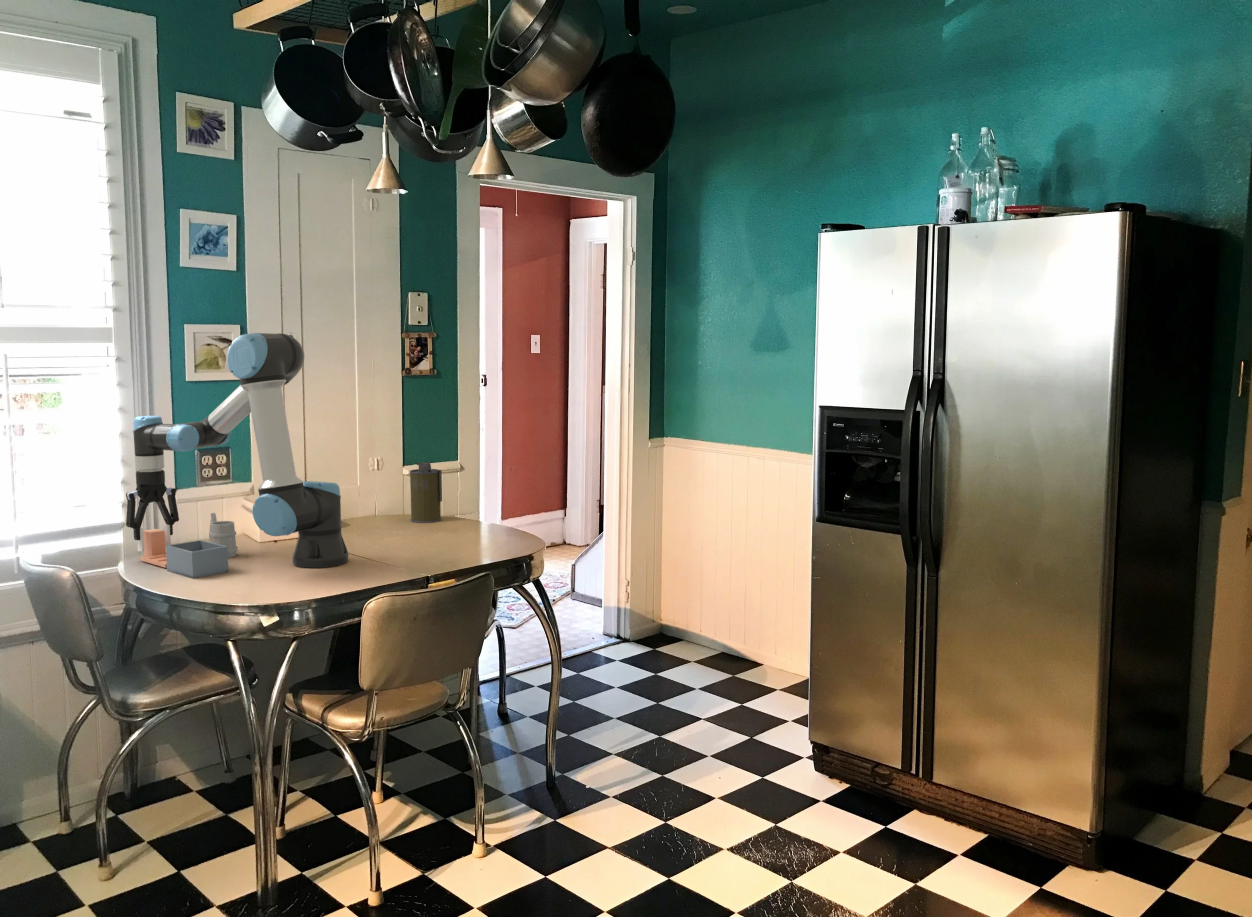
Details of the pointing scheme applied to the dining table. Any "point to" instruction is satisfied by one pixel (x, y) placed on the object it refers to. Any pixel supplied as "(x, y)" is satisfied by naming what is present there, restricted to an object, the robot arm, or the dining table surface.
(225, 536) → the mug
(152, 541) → the lid
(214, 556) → the tub
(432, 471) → the canister
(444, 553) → the dining table surface
